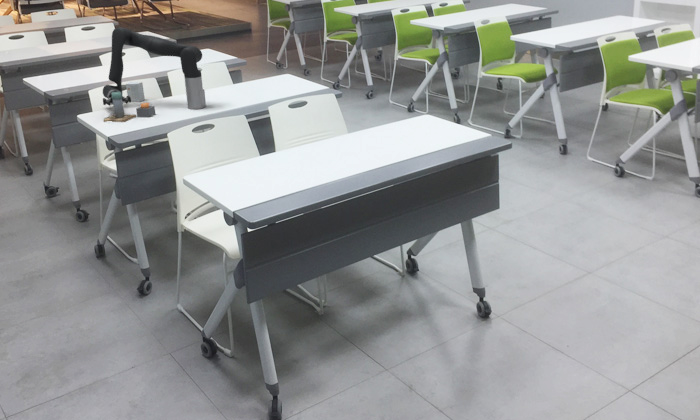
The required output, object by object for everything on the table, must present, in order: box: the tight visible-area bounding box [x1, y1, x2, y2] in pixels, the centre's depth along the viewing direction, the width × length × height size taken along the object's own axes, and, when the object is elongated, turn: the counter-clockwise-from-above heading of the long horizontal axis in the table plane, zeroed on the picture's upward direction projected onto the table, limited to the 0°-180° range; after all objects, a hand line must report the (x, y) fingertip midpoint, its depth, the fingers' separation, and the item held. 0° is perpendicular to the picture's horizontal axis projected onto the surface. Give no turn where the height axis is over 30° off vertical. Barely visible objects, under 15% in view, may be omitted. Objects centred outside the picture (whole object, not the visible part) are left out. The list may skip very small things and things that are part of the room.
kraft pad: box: [103, 114, 137, 123], centre depth 387 cm, size 12×12×1 cm
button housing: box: [136, 105, 156, 118], centre depth 392 cm, size 7×7×4 cm
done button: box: [140, 102, 150, 108], centre depth 391 cm, size 4×4×3 cm
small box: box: [125, 81, 146, 103], centre depth 429 cm, size 8×6×10 cm
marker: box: [111, 92, 125, 118], centre depth 384 cm, size 5×5×13 cm
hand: (118, 102), depth 382 cm, fingers open, 8 cm apart
